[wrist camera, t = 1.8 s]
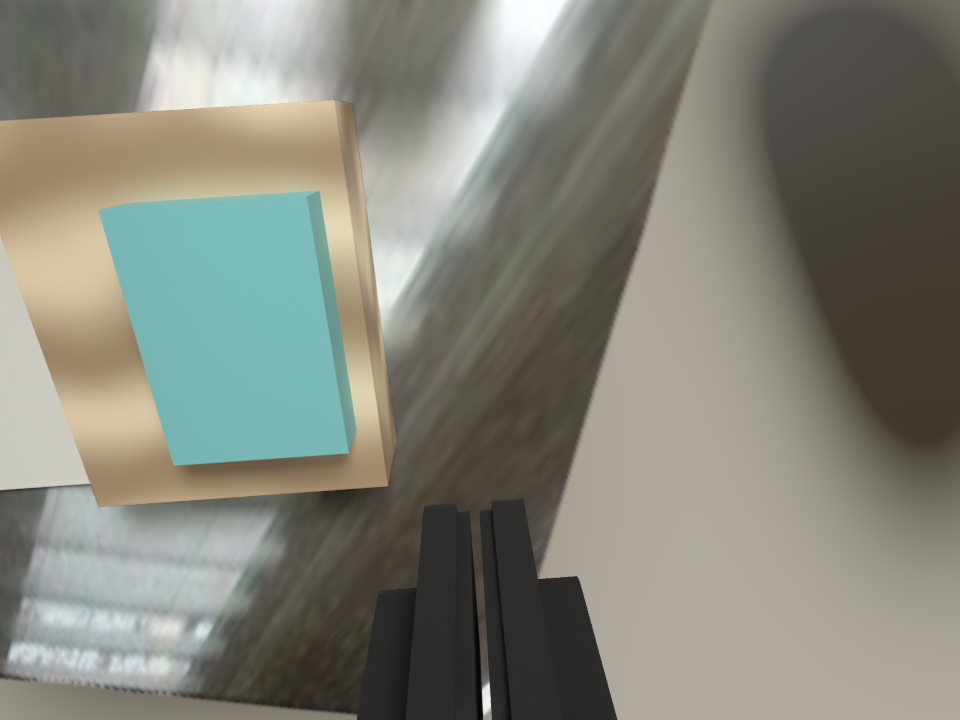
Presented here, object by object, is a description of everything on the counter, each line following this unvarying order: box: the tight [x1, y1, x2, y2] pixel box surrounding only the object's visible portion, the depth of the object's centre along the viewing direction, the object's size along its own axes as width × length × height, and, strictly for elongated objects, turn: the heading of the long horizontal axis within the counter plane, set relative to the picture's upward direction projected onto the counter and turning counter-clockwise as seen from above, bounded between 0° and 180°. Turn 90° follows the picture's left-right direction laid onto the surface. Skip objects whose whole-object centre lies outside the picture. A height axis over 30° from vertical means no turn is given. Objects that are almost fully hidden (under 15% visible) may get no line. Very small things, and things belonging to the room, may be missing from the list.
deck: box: [0, 100, 396, 507], centre depth 25 cm, size 16×13×4 cm
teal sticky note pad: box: [98, 190, 357, 466], centre depth 23 cm, size 10×7×2 cm
